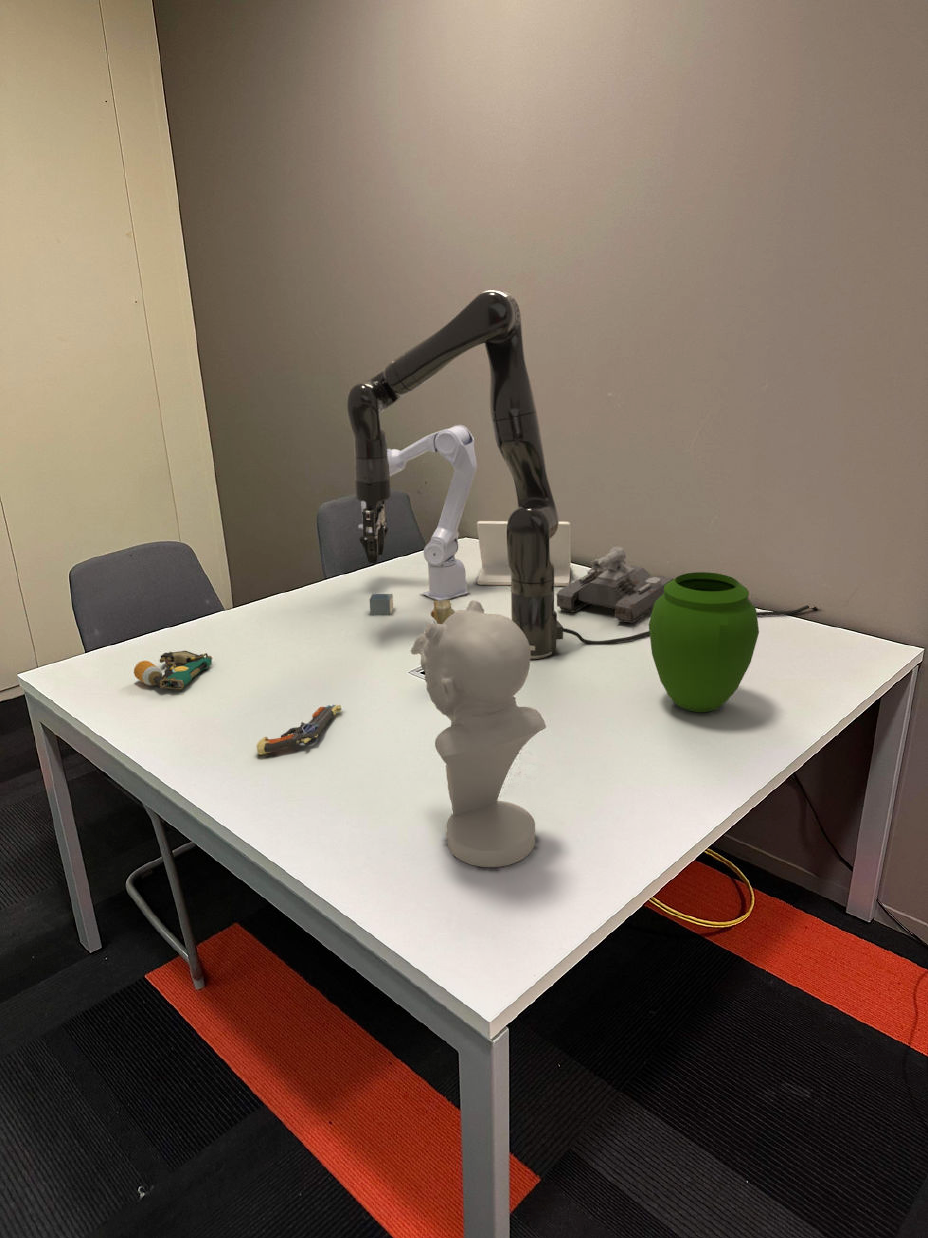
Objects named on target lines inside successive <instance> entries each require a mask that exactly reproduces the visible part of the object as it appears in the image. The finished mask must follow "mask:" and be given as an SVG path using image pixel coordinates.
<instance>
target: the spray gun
mask: <svg viewBox="0 0 928 1238" xmlns="http://www.w3.org/2000/svg"><path fill="white" fill-rule="evenodd" d="M212 660H213V657H212V656H211V655H208V653H207V652H205V653H201V654H197V653H194V652H192V651H191V652H190V651H188V650H180V651H169V652H164V653H162V654H161V655H160V658H159V660H158V662H159V663H161V664H163V663H165V664H166V668H165V670H163V672H164V674H163V673H162V669H160V668H159V666H157V665H156V664H154V663H152V662H151V661H149V660H141V661H139V662H138V663H136V665H135V666H134V668H133V675H134V677H135V678H136V679H137V680H139V681H140V682H142V683H143V684H145V685H147V686H155V685H157V686H158V687H160V688H161V689H171V690H172V689H173V690H182V689H184V687H185V686H186V685H188V684H189V683H190V682H191V681H192V679H193V678H195V677H196V676H197V675H198V674H200V673H201V672H202V671H203V670H206V669H208V668H209V667H210V666H211V665H212V662H213V661H212ZM178 663H179V664H181V665H179V666H176V665H177V664H178Z"/></svg>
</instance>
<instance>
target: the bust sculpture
mask: <svg viewBox="0 0 928 1238" xmlns="http://www.w3.org/2000/svg"><path fill="white" fill-rule="evenodd" d="M454 612H455V613H453V614H452V615H451V616H450V617H448V618H447V619H446V620H445V622H444V623H443V624H436V623H435V622H430V623H428V624H427V625H426V626H425V628H424V632H423V633H421V634H419V635H418V636H417V637H416V638H415V640H414V642H413V645H412V647H411V649H410V654H412V655H420V667H421V669H422V670H423V672H424V681H425V682H426V690H427V693H428V696H429V698H430V701H431V702H432V704H434V706H435V708H436V710H438V711H439V712H440V713H441V714H442V716H446V717H447V718H448V719H449V720H450V726H448V727H446V728H445V729H443V730H442V731H441V732H440V733H439V734H438V735H436V738H435V741H434V748H435V749H436V752H437V753H438V755H439V757H440V758H441V760H442V761H443V762H444V763H445V771H446V781H447V790H448V796H449V800H450V803H451V810H452V813H451V814H450V815H449V817H448V819H447V822H446V844H447V847H448V849H449V851H450V852H451V854H452V855H453V856H454V857H456V858H457V859H459V860H460V861H462V862H463V863H466V864H469V865H471V866H476V867H483V868H498V867H505V866H509V865H512V864H517V862H520V861H521V860H523V859H525V858H527V856H528V855H530V854H531V852H532V851H533V849H535V848H534V847H535V845H536V822H535V821H536V820H535V819H534V817H533V816H532V814H531V813H530V812H529V811H528V810H526V809H525V808H524V807H522V806H520V805H517V804H515V803H513V802H509V801H504V800H499V796H500V793H501V790H502V788H503V785H504V783H505V780H506V778H507V776H508V773H509V771H510V769H511V768H512V765H513V763H514V761H515V760H516V759H517V756H518V755H519V753H520V752H521V750H522V749H523V748H524V747H525V745H526V744H527V743H528V742H529V741H530V740H531V739H532V738H533V737H535V735H537V734H538V733H539V732H541V731H544V730H545V729H546V728H547V725H546V723H545V720H544V718H543V717H542V714H541V713H540V712H539V711H538V710H537V709H535V708H533V707H530V706H518V705H517V701H516V699H517V698H516V696H515V695H516V694H517V693H519V691H521V689H522V688H523V686H524V684H525V683H526V680H527V678H528V675H529V669H530V666H531V659H530V656H531V655H530V653H531V652H530V646H529V643H528V640H527V638H526V636H525V634H524V633H523V632H522V630H521V629H520V628H519V627H518V626H517V625H516V624H515V623H514V622H513V621H512V620H511V618H508V617H507V616H504V615H503V614H502V615H501V614H496V613H485V609H484V607H483V605H482V603H481V602H480V601H478V600H473V599H472V600H470V601H469V603H468V605H467V607H466V609H460V610H457V611H454Z"/></svg>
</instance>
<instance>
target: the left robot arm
mask: <svg viewBox="0 0 928 1238" xmlns="http://www.w3.org/2000/svg"><path fill="white" fill-rule="evenodd" d="M428 452H431V453H434V454H436V453H438V454H440V455H441V456H442V457H443V458H444V459H445V460H446V461H448V463H450V465H451V467H452V468H453V475H452V478H451V481H450V485H449V487H448V492H447V494H446V497H445V500H444V504H443V508H442V511H441V515H440V518H439V520H438V523H437V527H436V529H435V530H434V532H433V534H432V535H431V537H430V541H429V542H428V543H427V544H426V545H425V546H424V548H423V557H424V560H425V561H426V562H427V570H428V571H427V573H428V574H427V575H428V590H427V591H423V592H422V595H423V596H426V597H428V598H430V599H433V600H434V601H445V600H450V599H454V598H457V597H461V596H465V595H468V594H469V591H468V590H467V578H466V577H467V575H466V574H467V572H466V571H467V570H466V567H465V565H464V563H463V562H462V561H461V559H458V558H456V557H455V555H456V554H457V553H458V550H459V541H458V540H459V536H460V532H459V531H458V529H459V526H460V523H461V521H462V517H463V514H464V511H465V507H466V503H467V502H468V497H469V495H470V492H471V488H472V485H473V482H474V478H475V476H476V473H477V469H478V461H477V456H476V452H475V438H474V436H473V435H472V433H471V431H470V430H469V429H468V428H467V427H466V426H465V425H462V424H455V425H453V426H451V427H449V428H445V429H442V430H438V431H436V432H432V433H430V434H428V435H426V436H424V437H422V438H420V439H419V440H417V441H415V442H414V443H412V444H410V445H409V446H407V447H405V448H404V449H402V450H399V449H397V448H392V449H391V448H387V456H388V462H389V470H390V477H392V476H394V475H396V474H398V473H400V472H401V471H404V470H405V469H406V466H407V463H408V462H409V461H411V460H413V459H415V458H417V457H419V456H421V455H423V454H425V453H428ZM360 504H361V505H360V506H361V512H362V511H363V510H364V508H366V502H364V501H360ZM361 519H362V522H363V516H362V515H361ZM357 527H358V529H360V530H363V523H361V524H358V526H357ZM383 528H384V535H385V538H386V537H387V533H388V531H389V527H388V526H385V527H383ZM369 532H372V529H369ZM359 543H360V544H361V545H362V547H363V550H364V552H365V555H366V558H367V562H368V564H377V563H378V561H379V556H383V553H384V549H385V543H384V544H378V554H377V555H368V553H367V539H366V538H364V537H363V536H359Z"/></svg>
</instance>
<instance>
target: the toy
mask: <svg viewBox="0 0 928 1238" xmlns="http://www.w3.org/2000/svg"><path fill="white" fill-rule="evenodd" d="M626 557H627V556H626V551H625V549H624V548H622V547H621V546H614V547H612V548H611V549H610V550H609V552H608V553H607V554H605V555H604V556H601V557H599V558H598V559H597V557H596V558H594V559H593V560H592V561H590V562H589V563H590V564H591V565H592V567H591V568H590V569H589V570H587V573H586V575H584V576H582V577H580V578H578V579H577V580H575V581H573V582H570V583H569V585H567V586H563V587H562V588H560V589H559V590H558V591H557V592H556V607H558V608H559V609H560V610H562V611H566V612H572V613H575V612H577V611H579V610H581V609H582V608H585V607H586V606H588V605H592V606H598V607H602V608H603V607H604V608H609V609H613V610H614V618H615V619H617V620H618V621H621V622H626V623H631V624H634V623H635V622H637V621H638V620H640V619H641V618H642V617H644V616H645V615H647V614H648V613H650V612H652V610H653V606H654V603H655V602H656V601H657V599H659V598H660V597H661V596H662V595H663V594H664V586H665V585H666V584H667V583H668V582H670V581H672V580H673V579H675V578H673V577H668V576H663V575H656V576H655V577H654V576H651V574H650V573H649V572H648V571H647V570H646V568H644V567H641V566H635V565H629V564H628V563H627V562H626V561H625V559H626Z"/></svg>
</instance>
